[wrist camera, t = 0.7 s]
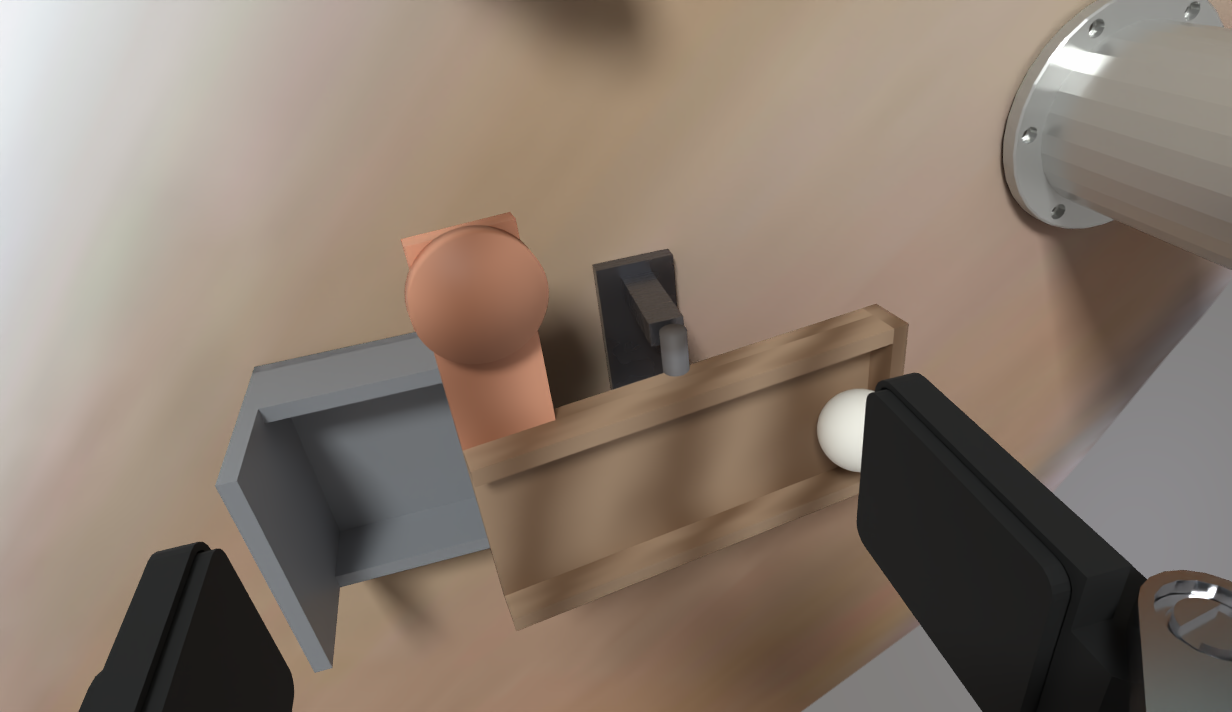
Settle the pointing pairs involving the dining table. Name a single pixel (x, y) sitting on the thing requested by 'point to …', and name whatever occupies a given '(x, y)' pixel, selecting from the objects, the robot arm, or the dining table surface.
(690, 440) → the brown flat piece
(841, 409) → the ball
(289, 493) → the cup
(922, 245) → the dining table surface
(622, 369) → the pivot stand
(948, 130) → the dining table surface
